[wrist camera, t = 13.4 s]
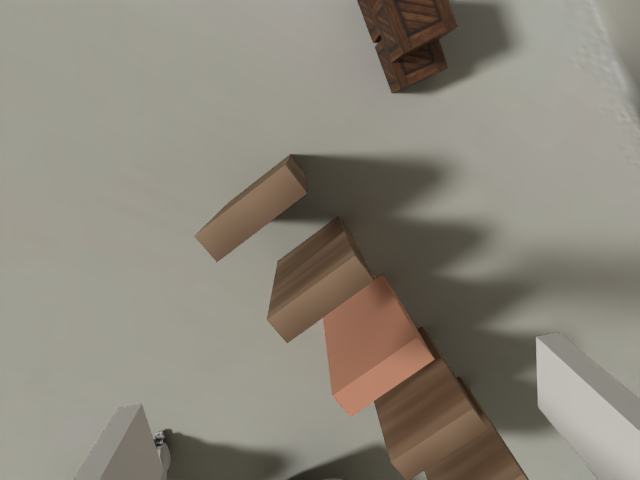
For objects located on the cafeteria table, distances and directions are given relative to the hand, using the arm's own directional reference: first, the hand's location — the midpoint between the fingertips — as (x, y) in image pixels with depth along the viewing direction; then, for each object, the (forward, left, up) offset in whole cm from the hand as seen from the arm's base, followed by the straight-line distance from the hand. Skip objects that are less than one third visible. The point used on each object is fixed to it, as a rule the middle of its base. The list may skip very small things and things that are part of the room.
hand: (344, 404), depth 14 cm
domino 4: (+9, +8, -21) cm, 24 cm away
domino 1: (-4, -5, -20) cm, 21 cm away
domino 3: (+4, +4, -21) cm, 21 cm away
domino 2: (0, 0, -21) cm, 20 cm away
